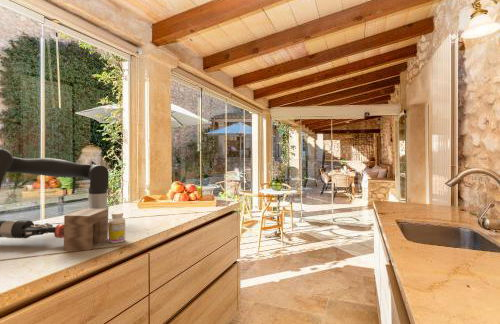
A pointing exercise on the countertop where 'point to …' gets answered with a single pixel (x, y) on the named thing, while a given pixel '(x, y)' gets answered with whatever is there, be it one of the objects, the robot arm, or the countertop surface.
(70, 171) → the robot arm
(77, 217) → the walnut block
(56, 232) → the red plug
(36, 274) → the countertop surface
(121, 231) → the supplement bottle
